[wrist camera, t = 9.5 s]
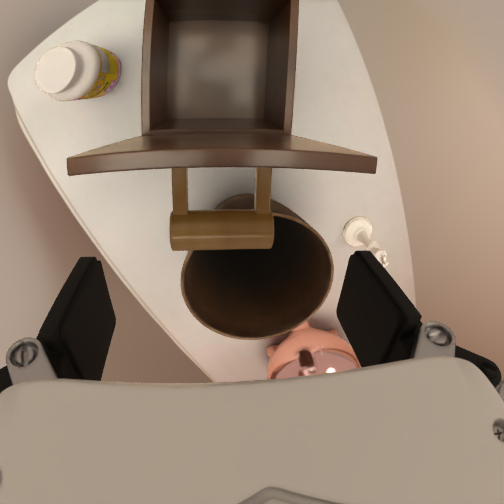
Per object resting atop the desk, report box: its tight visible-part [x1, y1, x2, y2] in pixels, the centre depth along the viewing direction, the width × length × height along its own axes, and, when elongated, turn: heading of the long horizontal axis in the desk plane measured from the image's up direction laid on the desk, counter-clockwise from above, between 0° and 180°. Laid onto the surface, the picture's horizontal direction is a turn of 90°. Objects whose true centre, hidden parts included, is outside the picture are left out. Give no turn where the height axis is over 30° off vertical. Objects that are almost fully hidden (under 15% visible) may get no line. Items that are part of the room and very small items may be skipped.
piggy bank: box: [266, 320, 361, 380], centre depth 51 cm, size 15×18×16 cm
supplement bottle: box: [34, 41, 121, 101], centre depth 25 cm, size 7×7×13 cm
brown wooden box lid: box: [67, 133, 377, 251], centre depth 20 cm, size 15×14×5 cm
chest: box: [141, 0, 299, 136], centre depth 28 cm, size 15×14×12 cm
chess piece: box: [343, 217, 388, 267], centre depth 42 cm, size 5×5×10 cm
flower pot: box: [181, 194, 334, 340], centre depth 36 cm, size 15×15×16 cm
